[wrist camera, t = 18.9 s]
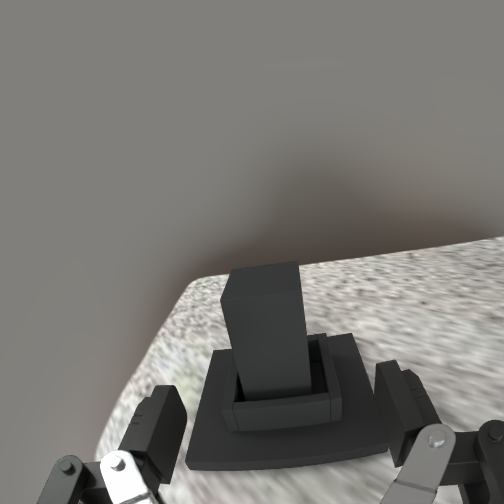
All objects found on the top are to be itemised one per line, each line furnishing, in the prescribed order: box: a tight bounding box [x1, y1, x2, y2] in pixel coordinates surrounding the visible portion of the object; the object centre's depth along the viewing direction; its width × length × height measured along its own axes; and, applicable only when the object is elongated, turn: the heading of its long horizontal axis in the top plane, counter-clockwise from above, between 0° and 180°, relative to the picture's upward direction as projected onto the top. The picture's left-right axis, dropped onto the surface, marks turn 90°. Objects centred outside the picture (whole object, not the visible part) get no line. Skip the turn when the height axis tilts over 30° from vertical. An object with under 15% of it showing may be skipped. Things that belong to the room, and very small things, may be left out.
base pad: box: [185, 333, 389, 471], centre depth 24 cm, size 14×14×4 cm
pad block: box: [220, 261, 312, 402], centre depth 23 cm, size 5×5×10 cm
